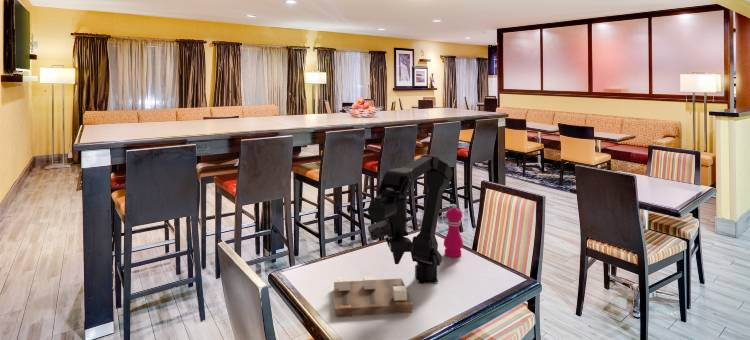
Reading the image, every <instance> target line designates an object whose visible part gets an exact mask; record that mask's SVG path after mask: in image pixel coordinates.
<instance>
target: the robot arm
mask: <svg viewBox="0 0 750 340" xmlns="http://www.w3.org/2000/svg"><path fill="white" fill-rule="evenodd" d="M453 174H454V173H453V169H452V168H451V167H450V165H449V164H448V163H446V162H445V161H443V160H441V159H440V158H439V157H438V156H436V155H433V154H422V155H421V156H420V157H419V158H417V159H415V160H414V161H412V162H411V163H408V164H406V165H405V166H403V167H397V168H396V167H395V168H391V169H388V170H387V171H386V172H385V173H384V175H383V177H382V180H381V181H380V185H379V188H378V189H377V192H376V194H377V195H376V196H374V198H373V201H372V202H371V203H370V204H369V205H368V208H367V213H368V216H369V218H370V219H371V221H373V222H375V223H373V224H370V225H368V226H367V231H368V233H369V237H370V238H371V241H377V240H378V239H379V238H383V237H385V236H386V237H385V241H386V244H387V247H388V249H389V251H390V252H391V253H392V258H393V262H394V264H395V265H399V264H400V262H401V260H402V257H403V256H404V254H405V253H410V255H411V259H412V262H415V263H416V264H415V265H414V278H415V279H416V281H417V282H418V284H421V285H422V284H438V283H439V280H438V277H437V276H438V267H440V266H441V263H442V261H443V260H442V259H443V255H442V254H441V252H440V251H439V250H438V247H439V244H438V240H437V238H436V230H437V224H438V221H439V214H440V209H441V205H442V198H443V193H444V191H445V190H447V188H448V187H449V186H450V183H451V179H452V177H453ZM422 175H425V177H424V178H425V179H424V181H425V184H426V186H427V194H426V199H425V204H424V210H423V215H422V221H421V226H420V231H419V233H418V234H417V235H415V236H413V237H412V240H411V239H410V238H409V237H406V236H409V231H408V230H407V229H408V228H407V225H408V224H407V223H409V218H408V217H407V216H408V213H407V212H408V208H407V207H408V204H407V203H408V197H410V196H411V193H410V189H411V188H412V187H413V185H414V181H415V180H417V179H418V178H419V177H421V176H422Z"/></svg>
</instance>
